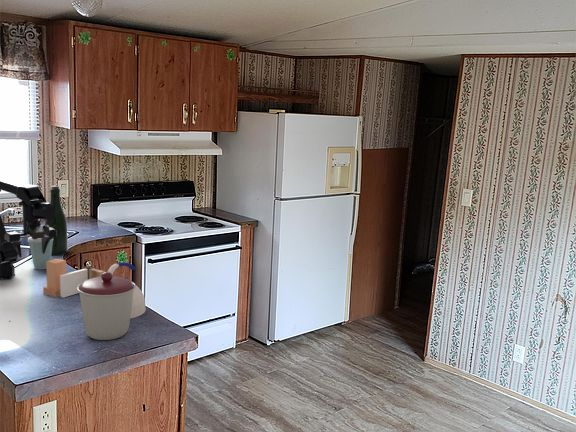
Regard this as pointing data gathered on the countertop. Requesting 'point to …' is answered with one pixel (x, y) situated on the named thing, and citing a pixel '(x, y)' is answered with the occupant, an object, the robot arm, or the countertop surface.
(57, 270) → the tan square pedestal
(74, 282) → the door
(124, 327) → the canister
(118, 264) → the kettle
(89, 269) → the door frame
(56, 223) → the beer bottle
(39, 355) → the countertop surface
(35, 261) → the disposable coffee cup
